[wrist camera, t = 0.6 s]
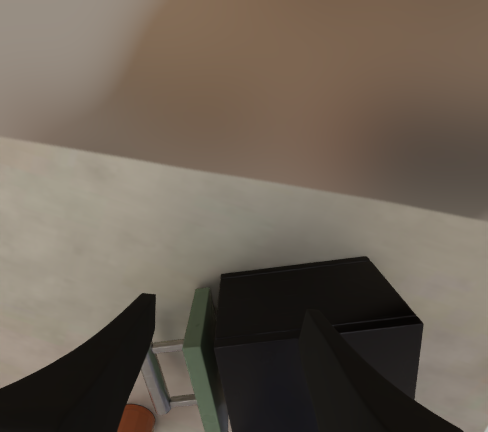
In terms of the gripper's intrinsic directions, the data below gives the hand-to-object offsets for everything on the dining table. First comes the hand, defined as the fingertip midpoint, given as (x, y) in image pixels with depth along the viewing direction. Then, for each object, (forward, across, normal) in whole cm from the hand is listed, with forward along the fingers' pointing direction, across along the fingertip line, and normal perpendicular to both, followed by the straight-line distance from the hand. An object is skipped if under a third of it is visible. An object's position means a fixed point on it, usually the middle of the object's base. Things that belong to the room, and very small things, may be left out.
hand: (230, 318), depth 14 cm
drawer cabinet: (+10, -7, +8) cm, 15 cm away
